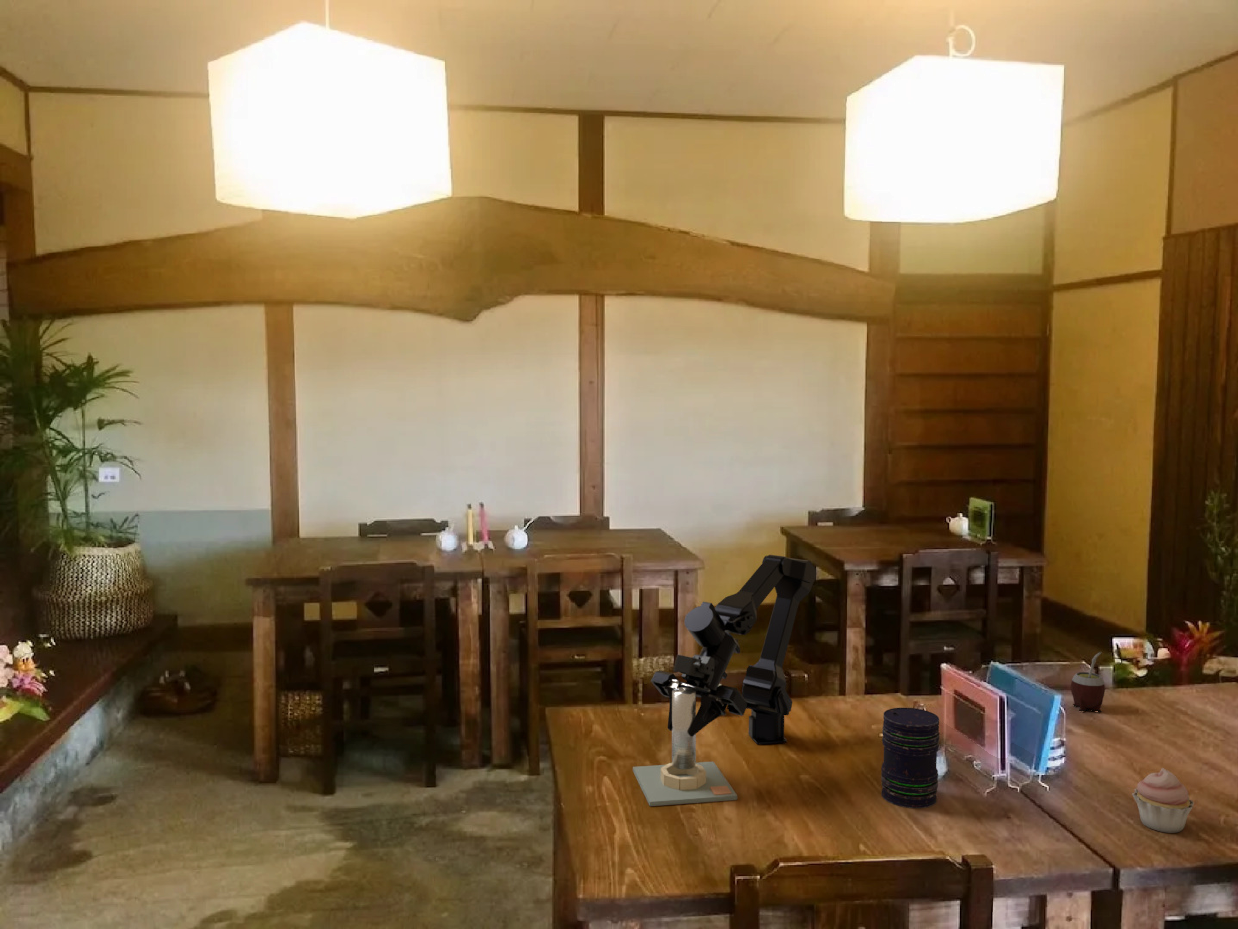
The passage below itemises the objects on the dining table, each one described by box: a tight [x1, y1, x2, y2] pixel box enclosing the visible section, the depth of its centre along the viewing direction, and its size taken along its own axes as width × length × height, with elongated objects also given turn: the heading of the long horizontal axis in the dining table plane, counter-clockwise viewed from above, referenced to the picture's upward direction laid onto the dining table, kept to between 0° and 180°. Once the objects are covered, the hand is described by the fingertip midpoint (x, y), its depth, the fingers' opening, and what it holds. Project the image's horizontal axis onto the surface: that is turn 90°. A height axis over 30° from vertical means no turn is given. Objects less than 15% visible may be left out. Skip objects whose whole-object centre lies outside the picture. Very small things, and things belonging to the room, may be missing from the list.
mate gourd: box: [1070, 651, 1106, 713], centre depth 227 cm, size 8×8×15 cm
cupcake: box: [1131, 767, 1195, 834], centre depth 169 cm, size 9×9×10 cm
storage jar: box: [880, 707, 940, 809], centre depth 180 cm, size 10×10×15 cm
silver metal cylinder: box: [671, 687, 697, 769], centre depth 184 cm, size 4×4×14 cm
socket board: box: [632, 761, 738, 807], centre depth 185 cm, size 16×16×3 cm
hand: (679, 732), depth 183 cm, fingers closed on silver metal cylinder, 4 cm apart
